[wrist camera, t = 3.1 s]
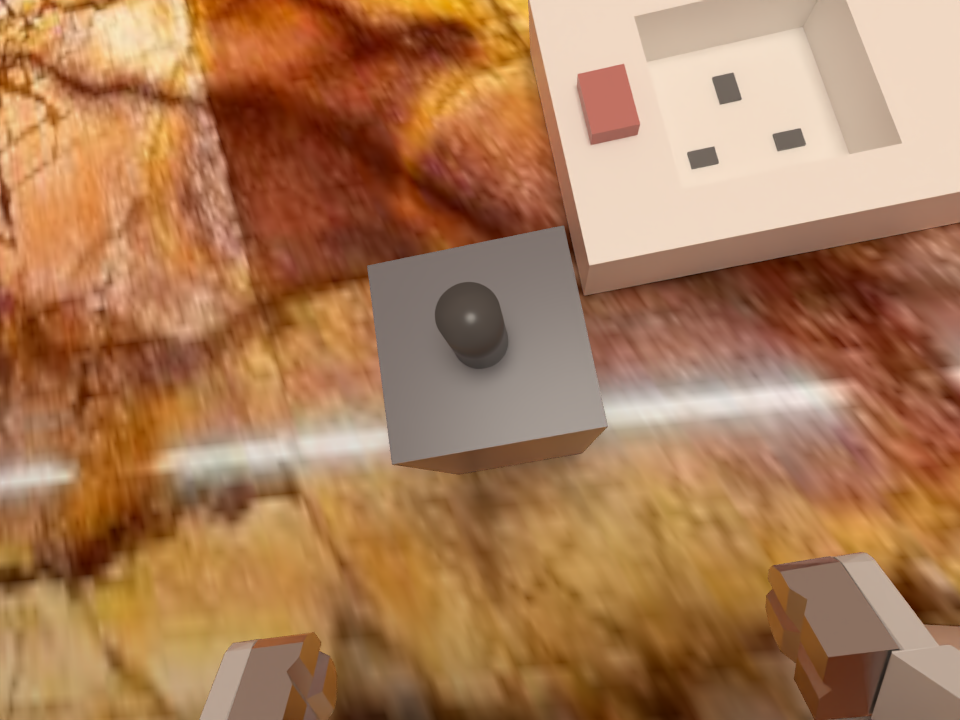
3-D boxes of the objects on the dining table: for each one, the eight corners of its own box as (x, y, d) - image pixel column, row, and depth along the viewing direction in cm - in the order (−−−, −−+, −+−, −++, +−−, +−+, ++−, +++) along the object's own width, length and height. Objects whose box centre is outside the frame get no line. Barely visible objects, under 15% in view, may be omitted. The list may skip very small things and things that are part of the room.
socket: (583, 295, 21) (590, 257, 18) (530, 54, 24) (527, -20, 20) (971, 220, 20) (1059, 164, 17) (871, -24, 23) (929, -116, 19)
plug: (459, 474, 20) (361, 459, 10) (440, 355, 22) (334, 226, 11) (582, 453, 20) (619, 413, 9) (557, 333, 21) (566, 177, 10)
